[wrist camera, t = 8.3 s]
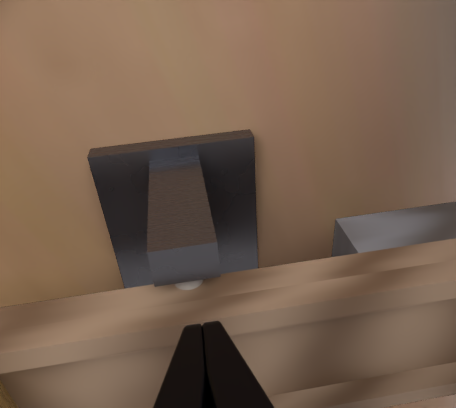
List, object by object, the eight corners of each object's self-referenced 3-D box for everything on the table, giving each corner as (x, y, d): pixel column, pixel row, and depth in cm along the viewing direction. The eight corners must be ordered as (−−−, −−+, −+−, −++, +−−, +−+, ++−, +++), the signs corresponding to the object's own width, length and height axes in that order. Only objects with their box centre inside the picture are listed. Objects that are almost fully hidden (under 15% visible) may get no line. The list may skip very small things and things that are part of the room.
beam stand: (249, 129, 20) (297, 216, 13) (256, 316, 28) (288, 431, 21) (90, 148, 19) (55, 251, 13) (142, 335, 27) (138, 461, 20)
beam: (498, 187, 19) (589, 249, 15) (452, 316, 23) (511, 388, 20) (-185, 283, 16) (-298, 390, 12) (-77, 406, 21) (-132, 511, 17)
